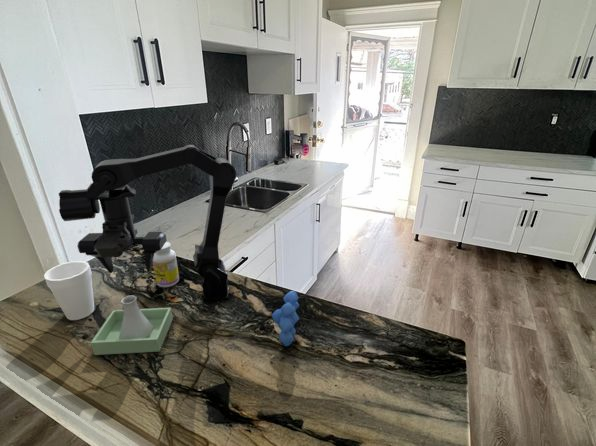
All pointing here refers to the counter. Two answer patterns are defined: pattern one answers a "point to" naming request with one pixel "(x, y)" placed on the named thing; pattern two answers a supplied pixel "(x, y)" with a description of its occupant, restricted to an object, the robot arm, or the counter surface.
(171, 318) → the green tray
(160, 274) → the supplement bottle
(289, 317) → the grapes
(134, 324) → the flask
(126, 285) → the counter surface
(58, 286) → the foam cup
